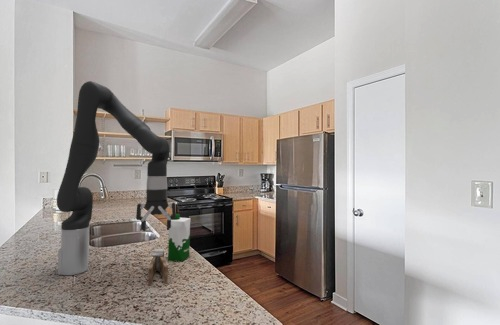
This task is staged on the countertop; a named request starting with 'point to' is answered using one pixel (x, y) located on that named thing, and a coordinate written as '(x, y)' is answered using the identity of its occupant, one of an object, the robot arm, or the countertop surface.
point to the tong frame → (154, 265)
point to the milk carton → (179, 239)
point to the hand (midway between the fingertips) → (156, 230)
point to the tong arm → (162, 268)
